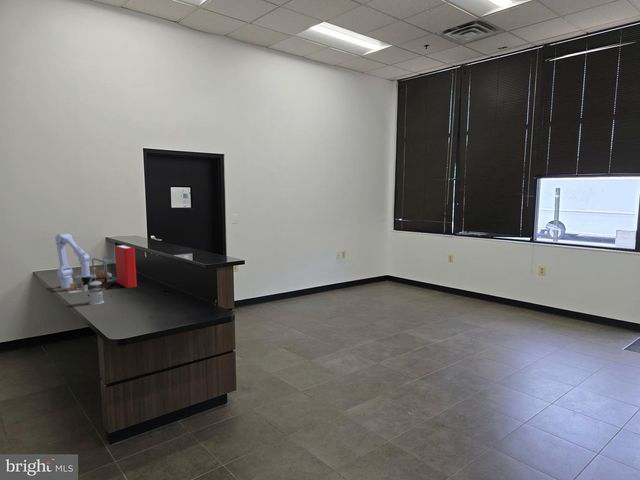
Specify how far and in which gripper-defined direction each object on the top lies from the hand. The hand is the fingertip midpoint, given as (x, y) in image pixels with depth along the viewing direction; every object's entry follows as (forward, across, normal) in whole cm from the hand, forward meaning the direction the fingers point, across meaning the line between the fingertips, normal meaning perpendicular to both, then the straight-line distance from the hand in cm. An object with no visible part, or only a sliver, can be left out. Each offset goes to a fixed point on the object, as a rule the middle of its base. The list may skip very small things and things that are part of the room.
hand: (86, 286), depth 330 cm
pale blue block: (+3, -3, -8) cm, 9 cm away
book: (+3, +25, +17) cm, 30 cm away
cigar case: (+3, +1, +24) cm, 24 cm away
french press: (+3, +22, -39) cm, 45 cm away
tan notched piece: (+3, -8, 0) cm, 8 cm away
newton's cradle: (+3, -1, +44) cm, 44 cm away
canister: (+2, -10, 0) cm, 10 cm away
